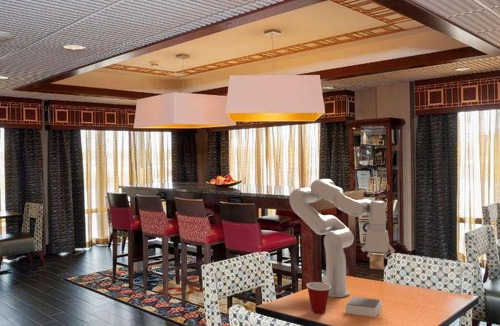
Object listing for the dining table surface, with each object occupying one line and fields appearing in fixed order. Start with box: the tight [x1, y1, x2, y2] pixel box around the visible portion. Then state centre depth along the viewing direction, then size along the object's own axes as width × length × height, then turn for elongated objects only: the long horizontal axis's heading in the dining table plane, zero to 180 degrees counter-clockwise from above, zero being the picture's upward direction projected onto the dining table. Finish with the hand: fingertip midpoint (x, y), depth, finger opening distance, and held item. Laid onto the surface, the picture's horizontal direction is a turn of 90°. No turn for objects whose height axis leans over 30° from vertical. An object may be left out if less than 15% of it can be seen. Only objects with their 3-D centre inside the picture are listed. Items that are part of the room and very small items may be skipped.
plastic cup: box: [305, 281, 331, 315], centre depth 212 cm, size 11×11×12 cm
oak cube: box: [369, 252, 386, 270], centre depth 224 cm, size 6×6×6 cm
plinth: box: [344, 296, 383, 318], centre depth 213 cm, size 13×13×4 cm
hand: (377, 265), depth 224 cm, fingers closed on oak cube, 6 cm apart
